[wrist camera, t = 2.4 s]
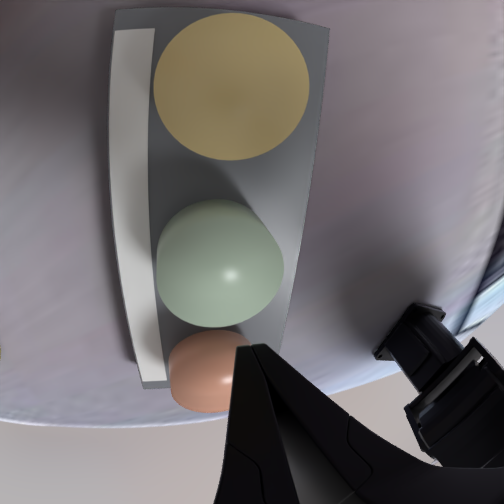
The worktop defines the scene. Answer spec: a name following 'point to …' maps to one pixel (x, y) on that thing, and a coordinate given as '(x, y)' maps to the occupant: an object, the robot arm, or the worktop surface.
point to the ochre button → (231, 86)
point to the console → (195, 180)
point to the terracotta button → (204, 370)
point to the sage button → (217, 264)
